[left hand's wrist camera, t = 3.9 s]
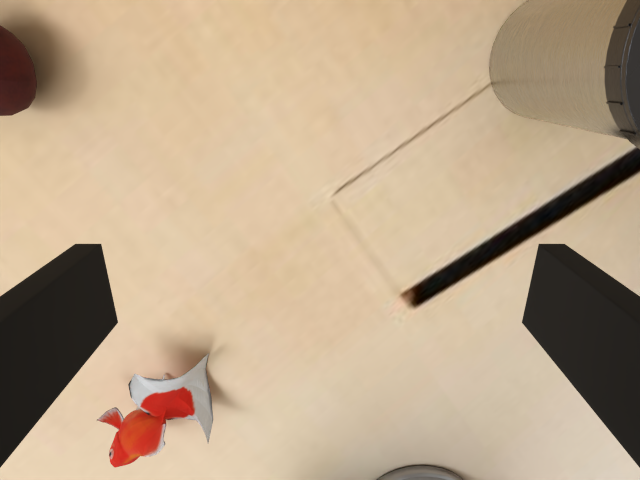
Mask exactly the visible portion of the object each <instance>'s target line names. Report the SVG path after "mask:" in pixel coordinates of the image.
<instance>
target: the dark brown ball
mask: <svg viewBox="0 0 640 480" xmlns="http://www.w3.org/2000/svg"><path fill="white" fill-rule="evenodd" d="M36 87H37V81H36V76H35V70H34V65H33V62H32V60H31V58H30V56H29V54H28V52H27V50H26V48H25V46H24V45H23V44H22V43H21V42H20V41H19V40H18V39H17V38H16V37H15V36H14V35H13V34H12V33H11V32H9V31H8V30H6V29H5V28H3V27H2V26H0V116H7V115H13V114H16V113H18V112H20V111H22V110H25V109H27V108H29V106H30V104H31V103H32V101H33V100H34V98H35V94H36Z"/></svg>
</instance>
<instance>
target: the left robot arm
mask: <svg viewBox="0 0 640 480" xmlns="http://www.w3.org/2000/svg"><path fill="white" fill-rule="evenodd" d="M117 323H118V320H117V316H116V311H115V306H114V302H113V297H112V293H111V288H110V283H109V279H108V274H107V269H106V265H105V260H104V255H103V251H102V246H101V244H75V245H73V246H72V247H70V248H69V249H68V250H66V251H65V252H63V253H62V254H60V255H59V256H58V257H56V258H55V259H53V260H52V261H50V262H49V263H48V264H46V265H45V266H43V267H42V268H40V269H39V270H38V271H36V272H35V273H33V274H32V275H30V276H29V277H28V278H26V279H25V280H23V281H22V282H20V283H19V284H18V285H16V286H15V287H13V288H12V289H10V290H9V291H8V292H6V293H5V294H3V295H2V296H0V467H1V466H2V465H3V464H4V462H5V461H6V460H7V459H8V457H9V456H10V455H11V454H12V452H13V451H14V450H15V449H16V447H17V446H18V445H19V444H20V443H21V441H22V440H23V439H24V438H25V436H26V435H27V434H28V433H29V431H30V430H31V429H32V428H33V427H34V425H35V424H36V423H37V422H38V420H39V419H40V418H41V417H42V415H43V414H44V413H45V412H46V410H47V409H48V408H49V407H50V406H51V404H52V403H53V402H54V401H55V399H56V398H57V397H58V396H59V394H60V393H61V392H62V391H63V390H64V388H65V387H66V386H67V385H68V383H69V382H70V381H71V380H72V378H73V377H74V376H75V375H76V373H77V372H78V371H79V370H80V369H81V367H82V366H83V365H84V364H85V362H86V361H87V360H88V359H89V357H90V356H91V355H92V354H93V353H94V351H95V350H96V349H97V348H98V346H99V345H100V344H101V343H102V341H103V340H104V339H105V338H106V336H107V335H108V334H109V333H110V332H111V330H112V329H113V328H114V327H115V325H116V324H117ZM522 323H523V324H524V325H525V327H526V328H527V329H528V330H529V332H530V333H531V334H532V335H533V336H534V338H535V339H536V340H537V341H538V343H539V344H540V345H541V346H542V348H543V349H544V350H545V351H546V353H547V354H548V355H549V356H550V357H551V359H552V360H553V361H554V362H555V364H556V365H557V366H558V367H559V369H560V370H561V371H562V372H563V373H564V375H565V376H566V377H567V378H568V380H569V381H570V382H571V383H572V385H573V386H574V387H575V388H576V390H577V391H578V392H579V393H580V394H581V396H582V397H583V398H584V399H585V401H586V402H587V403H588V404H589V406H590V407H591V408H592V409H593V410H594V412H595V413H596V414H597V415H598V417H599V418H600V419H601V420H602V422H603V423H604V424H605V425H606V427H607V428H608V429H609V430H610V431H611V433H612V434H613V435H614V436H615V438H616V439H617V440H618V441H619V443H620V444H621V445H622V446H623V447H624V449H625V450H626V451H627V452H628V454H629V455H630V456H631V457H632V459H633V460H634V461H635V462H636V464H637V465H638V466H639V467H640V296H638V295H637V294H635V293H634V292H632V291H631V290H630V289H628V288H627V287H625V286H624V285H622V284H621V283H620V282H618V281H617V280H615V279H614V278H612V277H611V276H610V275H608V274H607V273H605V272H604V271H602V270H601V269H600V268H598V267H597V266H595V265H594V264H592V263H591V262H590V261H588V260H587V259H585V258H584V257H582V256H581V255H580V254H578V253H577V252H575V251H574V250H572V249H571V248H570V247H568V246H567V245H565V244H539V246H538V251H537V255H536V260H535V265H534V269H533V274H532V279H531V283H530V288H529V293H528V297H527V302H526V306H525V311H524V316H523V320H522ZM378 480H463V479H462V478H461V477H459V476H458V475H456V474H454V473H453V472H450V471H448V470H445V469H442V468H438V467H433V466H411V467H405V468H401V469H398V470H395V471H392V472H390V473H388V474H386V475H384V476H382V477H380V478H379V479H378Z"/></svg>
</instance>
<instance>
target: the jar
mask: <svg viewBox="0 0 640 480" xmlns="http://www.w3.org/2000/svg"><path fill="white" fill-rule="evenodd" d="M626 1H627V0H529V1H527V2H526V3H524V4H523V5H521V6H520V7H519V8H518V9H517V10H516V11H514V12H513V13H512V15H511V16H510V17H509V18H508V19H507V20H506V22H505V23H504V25H503V26H502V27H501V29H500V31H499V33H498V35H497V37H496V39H495V42H494V44H493V48H492V51H491V57H490V78H491V83H492V86H493V89H494V92H495V93H496V95H497V97H498V99H499V100H500V101H501V103H502V104H503V105H504V106H505V107H506V108H508V109H509V110H510V111H512V112H513V113H515V114H517V115H520V116H523V117H527V118H531V119H536V120H541V121H545V122H550V123H555V124H559V125H564V126H569V127H573V128H578V129H583V130H587V131H592V132H597V133H601V134H606V135H611V136H615V137H620V138H625V139H627V138H626V137H625V136H624V135H623V134H622V133H620V132H619V131H620V129H619V128H618V126H617V125H616V123H615V121H614V119H613V117H612V114H611V112H610V110H609V106H608V104H606V102H607V98H606V92H605V83H604V80H605V68H604V66H605V62H606V55H607V50H608V46H609V42H610V38H611V35H612V32H613V29H614V28H613V26H615V24H616V21H617V19H618V17H619V15H620V13H621V11H622V9H623V7H624V5H625V3H626Z"/></svg>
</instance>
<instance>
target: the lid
mask: <svg viewBox="0 0 640 480" xmlns="http://www.w3.org/2000/svg"><path fill="white" fill-rule="evenodd" d="M613 28H614V29H613V32H612V35H611V38H610V42H609V46H608V50H607V55H606V62H605V66H604V68H605V80H604V83H605V92H606V98H607V102H606V104H608V106H609V110H610V112H611V114H612V117H613V119H614V121H615V123H616V125H617V126H618V128H619V129H620V131H619V132H620V133H622V134H623V135H624V136H625V137H626V138H627V139H628V140H629V141H630V142H631V143H632V144H634V145H635V146H636V147H638V148H639V149H640V0H627V1H626V3H625V5H624V7H623V9H622V11H621V13H620V15H619V17H618V19H617V21H616V24H615V26H613Z"/></svg>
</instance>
